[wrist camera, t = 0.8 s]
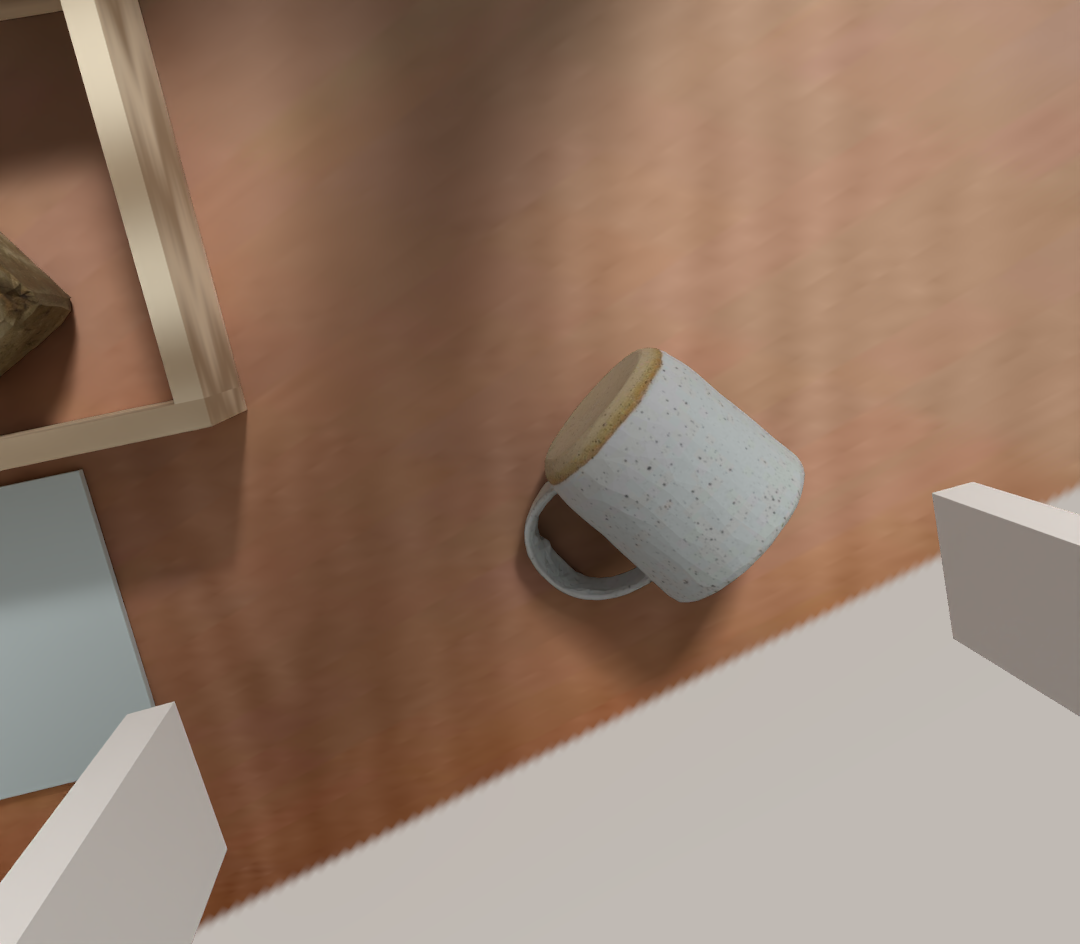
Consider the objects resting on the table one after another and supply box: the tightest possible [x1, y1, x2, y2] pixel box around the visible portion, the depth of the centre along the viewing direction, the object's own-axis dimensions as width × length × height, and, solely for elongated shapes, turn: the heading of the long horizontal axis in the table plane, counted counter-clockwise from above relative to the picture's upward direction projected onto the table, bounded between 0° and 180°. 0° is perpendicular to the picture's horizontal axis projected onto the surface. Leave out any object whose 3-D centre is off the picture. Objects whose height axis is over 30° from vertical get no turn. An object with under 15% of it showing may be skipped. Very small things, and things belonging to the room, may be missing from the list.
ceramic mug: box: [524, 348, 805, 602], centre depth 35 cm, size 11×8×8 cm
